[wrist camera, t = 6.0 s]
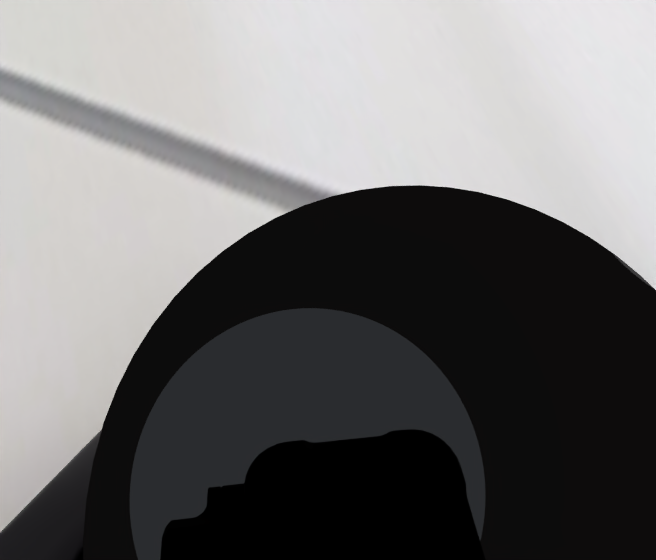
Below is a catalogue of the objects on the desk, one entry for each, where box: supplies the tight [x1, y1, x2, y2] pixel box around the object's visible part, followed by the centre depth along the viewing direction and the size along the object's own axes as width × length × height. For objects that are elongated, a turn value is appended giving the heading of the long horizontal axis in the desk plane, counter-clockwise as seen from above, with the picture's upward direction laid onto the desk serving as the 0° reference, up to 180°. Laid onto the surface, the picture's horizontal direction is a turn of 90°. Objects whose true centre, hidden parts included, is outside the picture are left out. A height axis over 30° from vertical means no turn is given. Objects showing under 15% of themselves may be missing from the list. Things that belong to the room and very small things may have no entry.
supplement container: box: [83, 186, 656, 560], centre depth 10 cm, size 7×7×10 cm
